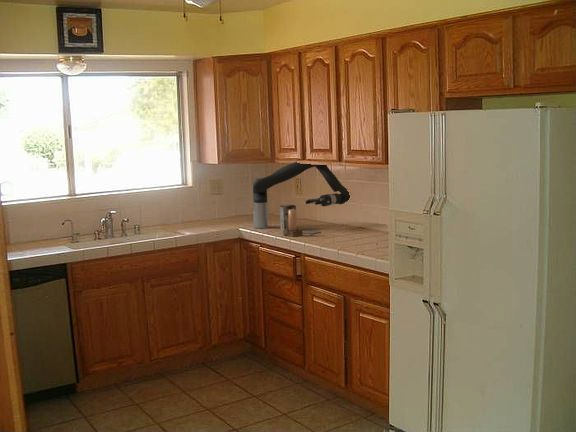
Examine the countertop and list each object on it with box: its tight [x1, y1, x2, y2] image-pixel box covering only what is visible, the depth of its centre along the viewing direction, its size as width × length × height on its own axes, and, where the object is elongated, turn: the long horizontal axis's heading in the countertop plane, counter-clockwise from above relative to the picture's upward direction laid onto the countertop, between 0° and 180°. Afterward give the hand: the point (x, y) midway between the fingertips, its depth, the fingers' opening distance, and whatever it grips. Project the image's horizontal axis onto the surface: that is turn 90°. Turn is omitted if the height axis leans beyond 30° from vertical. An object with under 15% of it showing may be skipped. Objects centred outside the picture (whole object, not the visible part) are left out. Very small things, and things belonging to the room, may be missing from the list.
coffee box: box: [279, 204, 297, 231], centre depth 444 cm, size 9×6×16 cm
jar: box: [288, 209, 298, 232], centre depth 421 cm, size 5×5×16 cm
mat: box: [302, 230, 321, 235], centre depth 429 cm, size 9×9×1 cm
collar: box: [282, 229, 303, 238], centre depth 422 cm, size 8×8×3 cm
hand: (310, 202), depth 432 cm, fingers open, 8 cm apart
